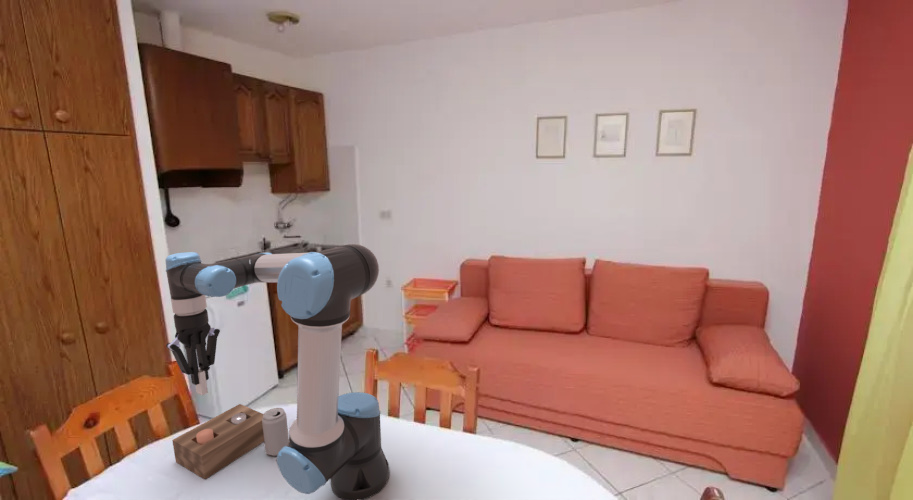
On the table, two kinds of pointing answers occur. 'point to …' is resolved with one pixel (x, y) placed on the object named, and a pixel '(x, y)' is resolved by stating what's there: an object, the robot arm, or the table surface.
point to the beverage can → (275, 430)
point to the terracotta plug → (204, 436)
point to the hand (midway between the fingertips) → (202, 392)
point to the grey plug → (238, 418)
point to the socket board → (219, 442)
